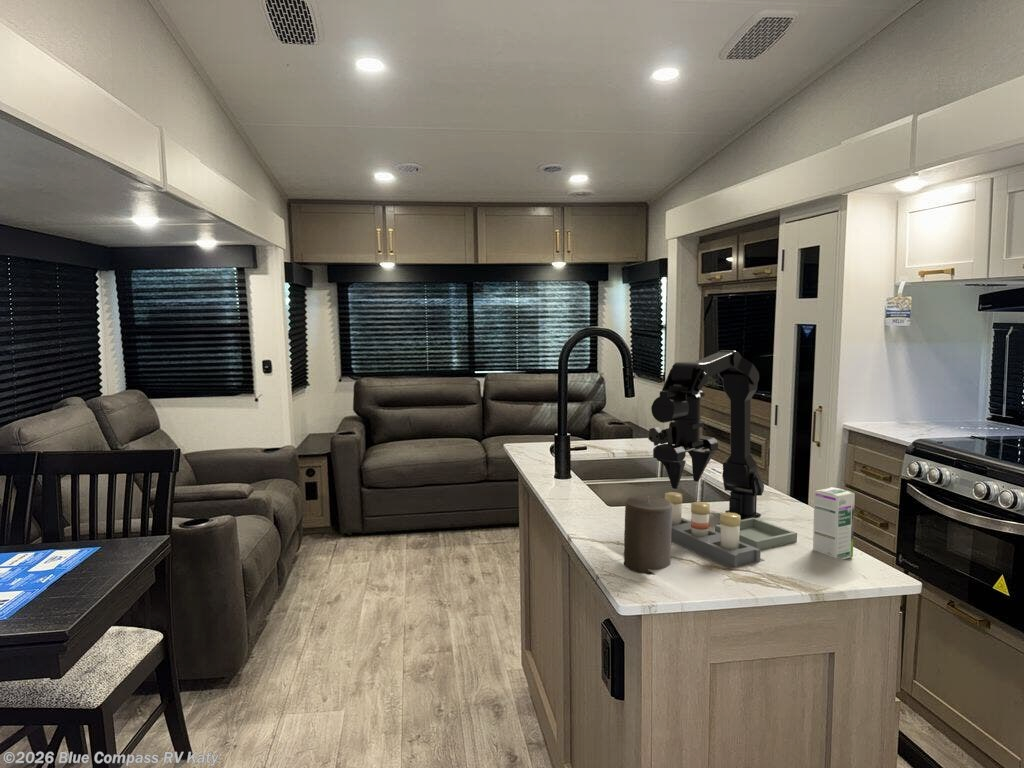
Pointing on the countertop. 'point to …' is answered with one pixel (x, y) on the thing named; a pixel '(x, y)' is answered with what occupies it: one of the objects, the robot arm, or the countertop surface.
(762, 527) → the tray
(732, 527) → the cylinder
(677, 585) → the countertop surface
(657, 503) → the pillar candle
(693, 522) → the cylinder
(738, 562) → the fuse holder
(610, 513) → the countertop surface
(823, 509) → the syrup box
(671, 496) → the cylinder
